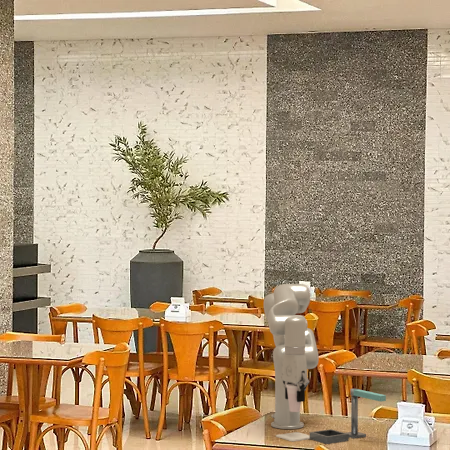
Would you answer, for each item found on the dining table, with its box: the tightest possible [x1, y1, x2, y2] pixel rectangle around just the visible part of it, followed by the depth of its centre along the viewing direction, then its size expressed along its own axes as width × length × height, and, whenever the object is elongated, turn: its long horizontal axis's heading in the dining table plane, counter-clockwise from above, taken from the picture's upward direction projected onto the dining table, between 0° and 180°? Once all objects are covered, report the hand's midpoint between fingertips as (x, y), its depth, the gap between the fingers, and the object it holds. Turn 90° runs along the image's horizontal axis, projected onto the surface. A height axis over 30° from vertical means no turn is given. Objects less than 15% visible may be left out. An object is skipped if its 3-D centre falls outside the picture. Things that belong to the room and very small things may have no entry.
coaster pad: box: [275, 431, 311, 442], centre depth 368 cm, size 10×10×1 cm
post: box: [346, 394, 367, 439], centre depth 370 cm, size 6×6×15 cm
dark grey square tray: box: [309, 428, 349, 445], centre depth 364 cm, size 10×10×2 cm
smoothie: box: [286, 383, 302, 413], centre depth 368 cm, size 6×6×14 cm
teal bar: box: [350, 388, 387, 402], centre depth 364 cm, size 18×3×2 cm, turn 32°
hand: (294, 399), depth 368 cm, fingers closed on smoothie, 6 cm apart
